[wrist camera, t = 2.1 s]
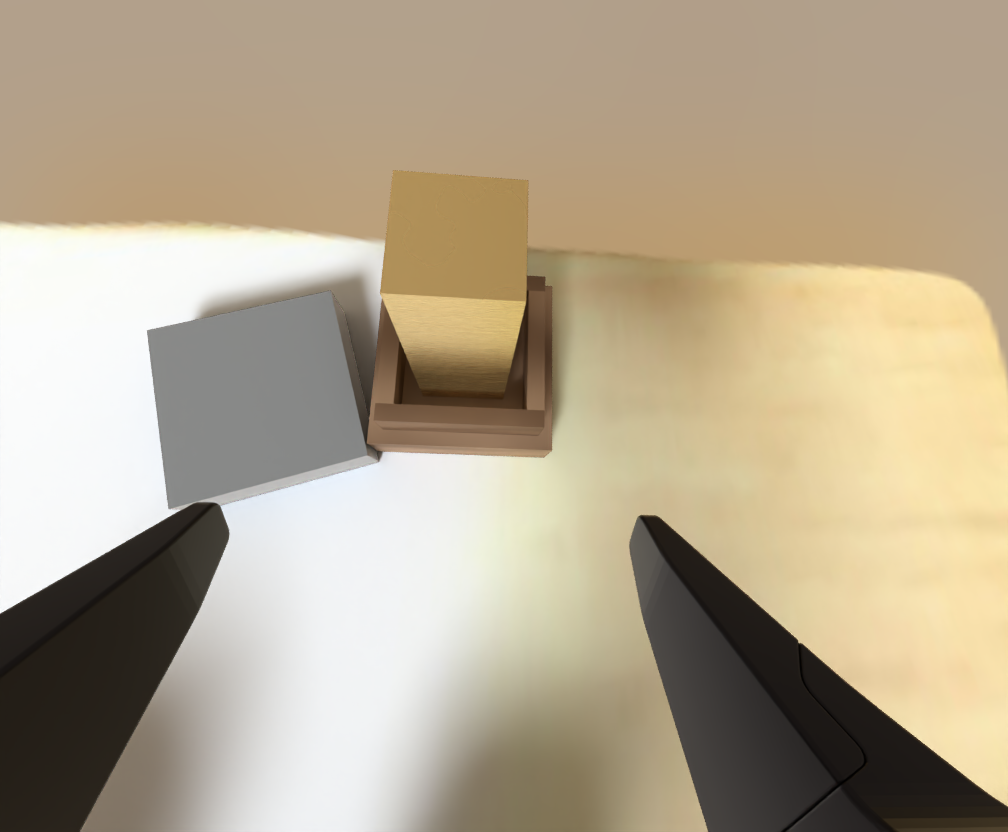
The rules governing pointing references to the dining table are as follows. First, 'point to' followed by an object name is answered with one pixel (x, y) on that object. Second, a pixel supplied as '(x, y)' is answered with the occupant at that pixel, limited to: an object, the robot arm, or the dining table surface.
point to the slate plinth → (258, 400)
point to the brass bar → (456, 278)
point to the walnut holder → (468, 421)
